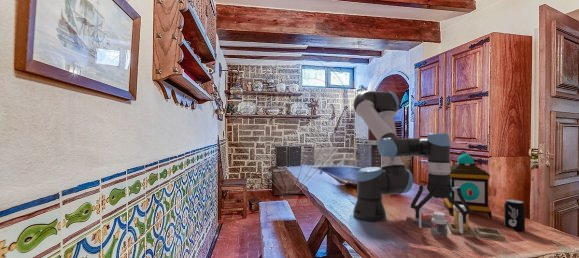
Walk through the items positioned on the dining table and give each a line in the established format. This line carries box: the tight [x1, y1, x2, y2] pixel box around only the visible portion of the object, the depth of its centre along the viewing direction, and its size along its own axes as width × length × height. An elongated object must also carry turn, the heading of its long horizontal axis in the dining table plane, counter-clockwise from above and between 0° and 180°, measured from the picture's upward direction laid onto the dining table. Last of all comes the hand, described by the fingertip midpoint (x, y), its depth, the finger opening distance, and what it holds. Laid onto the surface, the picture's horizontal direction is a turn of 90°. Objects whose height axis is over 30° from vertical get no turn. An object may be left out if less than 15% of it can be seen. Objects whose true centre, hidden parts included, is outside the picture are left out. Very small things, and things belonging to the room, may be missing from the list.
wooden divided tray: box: [447, 222, 508, 243], centre depth 104 cm, size 18×10×3 cm, turn 66°
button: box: [421, 212, 432, 221], centre depth 116 cm, size 4×4×4 cm
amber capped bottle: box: [453, 205, 470, 231], centre depth 106 cm, size 5×5×10 cm
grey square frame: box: [414, 214, 434, 228], centre depth 116 cm, size 8×8×3 cm
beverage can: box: [503, 198, 526, 233], centre depth 112 cm, size 7×7×12 cm
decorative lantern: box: [443, 153, 493, 220], centre depth 136 cm, size 20×20×30 cm
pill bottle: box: [430, 211, 448, 240], centre depth 101 cm, size 5×5×10 cm
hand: (440, 229), depth 101 cm, fingers open, 13 cm apart
